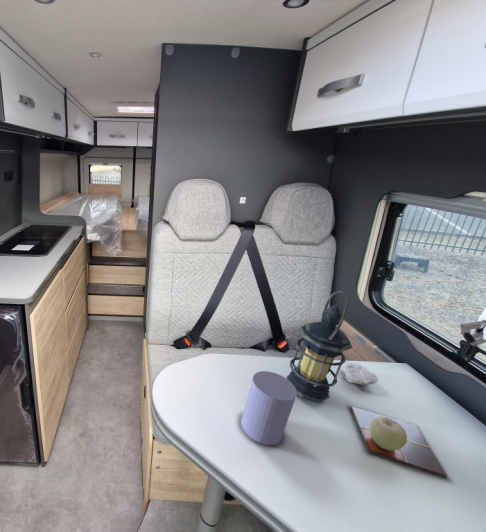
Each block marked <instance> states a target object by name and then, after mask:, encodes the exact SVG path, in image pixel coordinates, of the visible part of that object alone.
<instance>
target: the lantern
mask: <svg viewBox="0 0 486 532" xmlns="http://www.w3.org/2000/svg"><path fill="white" fill-rule="evenodd" d="M339 293H340V294H343V295H344V296H345V302H344V309H343V312H342V311H341V309H340V307H339V305H338V304H333V305H331V306H329V304H330V302H331V300H332V299H333V297H334V296H336V295H337V294H339ZM349 303H350V296H349V294H348V293H347V292H345V291H342V290H337V291H334V292H333V293H332V294H331V295H329V297H328V298H327V299H326V301H325V304H324V307H323V311H322V313H321V319H320V321H313V322H309V323H306V324H303V325H301V326H300V327H299V330H300V333H301V336H300V338H299V339H297V340H296V343H295V347H296V349H295V353H294V355H293V358H292V359H290V361H289V368H290V369H291V370H290V372H289V374H288V375H286V379H288V380H289V381H290V382H291V383H292V384H293V385H294V386H295V388H296V390H297V396H298V397H300V398H301V399H305V400H307V401H312V402H315V403H321V402H323V401H325V400H327V399H330V394H329V393H330V388H331V387H334V386H335V385H336V384H337V383H338V375H339V372H340V369H341V368H342V366H343V365H344V364H345V363H346V356H345V354H344V353H343V352H346V351H349V350H351V349H353V345H352V343H351V340H350V339H349V337H348V335H347V334H346V332H345V331H344V330H342V329H341V327H342V324H343V323H344V321H345V318H346V315H347V313H348V309H349ZM328 306H329V307H328ZM302 341H303V345H304V347H303V348H301V343H302ZM299 352H300V353H301V354H300V356H298V357H297V355H298V353H299ZM337 357H341V359H340V361H339V362H334V360H335V358H337ZM295 361H298V363H297V366H296V365H295ZM332 366H333V367H336V366H337V369H336V371H335V372H334V370H332ZM329 373H330V374H331V375H332V377H333V379H332V381H331V383H329V381H328V377H327V375H328V374H329Z"/></svg>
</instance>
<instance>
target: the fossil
mask: <svg viewBox="0 0 486 532" xmlns="http://www.w3.org/2000/svg"><path fill="white" fill-rule="evenodd" d="M341 371H342V372H343V374H344V375H345V379H346V381H347V382H348V383H349V382H350V383H352V384H353V383H354V384H357V385H360V386H366V385H374V384H376V383H378V381H379V378H378V377H377V375H376V374H375V373H373V372H371V370H369V369H368V368H366V367H365V366H363V365H361V364H360V363H353V362H345V363H343V364H342V365H341Z"/></svg>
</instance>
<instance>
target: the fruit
mask: <svg viewBox="0 0 486 532" xmlns="http://www.w3.org/2000/svg"><path fill="white" fill-rule="evenodd" d="M387 417H388V416H387ZM387 417H378V418H375V419H374V420H373V421H372V422H371V424H370V433H371V437H372V439H373V440H374V442H375V443H376V444H377V445H378V446H380V447H381V448H383V449H386V450H392V451H394V450H398V449H401V448H402V447H403V446H404V445H405V444H406V441H407V434H406V431H405V430H404V428H403V427H402V426H401V425H399V424H398V423H397V422H395V421H394V420H392V419H390V418H391V417H390V418H387Z"/></svg>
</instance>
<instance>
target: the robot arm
mask: <svg viewBox="0 0 486 532" xmlns="http://www.w3.org/2000/svg"><path fill="white" fill-rule="evenodd" d="M459 328H460V334H461V336H462V337H463V338H464V340H465V343H464V345H463V347H462V349H461V351H460V352H461V353H460V354H461V356H462V357H464V359H466V360H467V361H471V362H472V361H473V360H474V359H475V357H476V356H477V354H478V352H479V349H480V347H479V346H480V345H482V344H485V343H486V308H485V309H484V310H483V311H482V313H481V315H480V316H479V318H477V320H476V321H472V322H471V321H470V322H462V323H460V324H459ZM471 331H473V333H471Z"/></svg>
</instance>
